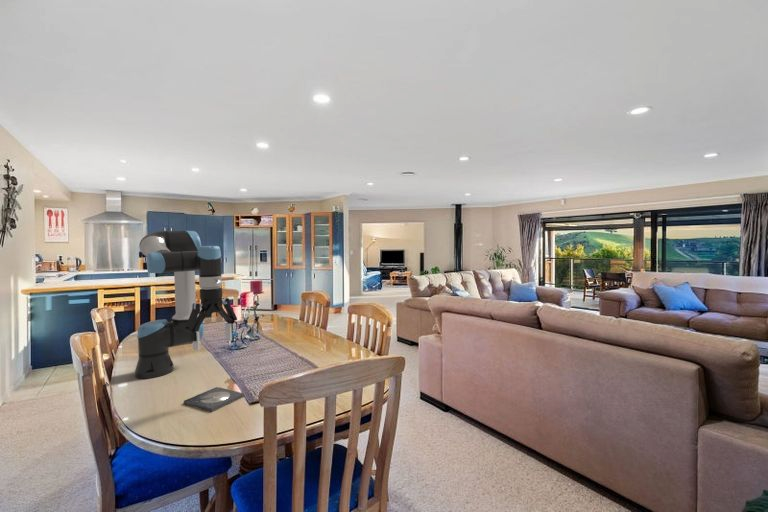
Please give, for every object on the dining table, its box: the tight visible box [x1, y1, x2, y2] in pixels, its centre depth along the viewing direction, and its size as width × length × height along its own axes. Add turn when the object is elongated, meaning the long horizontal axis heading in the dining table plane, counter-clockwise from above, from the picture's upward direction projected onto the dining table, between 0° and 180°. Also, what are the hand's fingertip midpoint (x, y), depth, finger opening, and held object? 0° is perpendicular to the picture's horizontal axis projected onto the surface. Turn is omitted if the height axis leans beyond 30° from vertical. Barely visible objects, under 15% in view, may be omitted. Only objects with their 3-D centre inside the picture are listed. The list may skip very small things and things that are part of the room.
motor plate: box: [183, 386, 245, 413], centre depth 138 cm, size 16×14×1 cm
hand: (213, 344), depth 137 cm, fingers open, 13 cm apart
